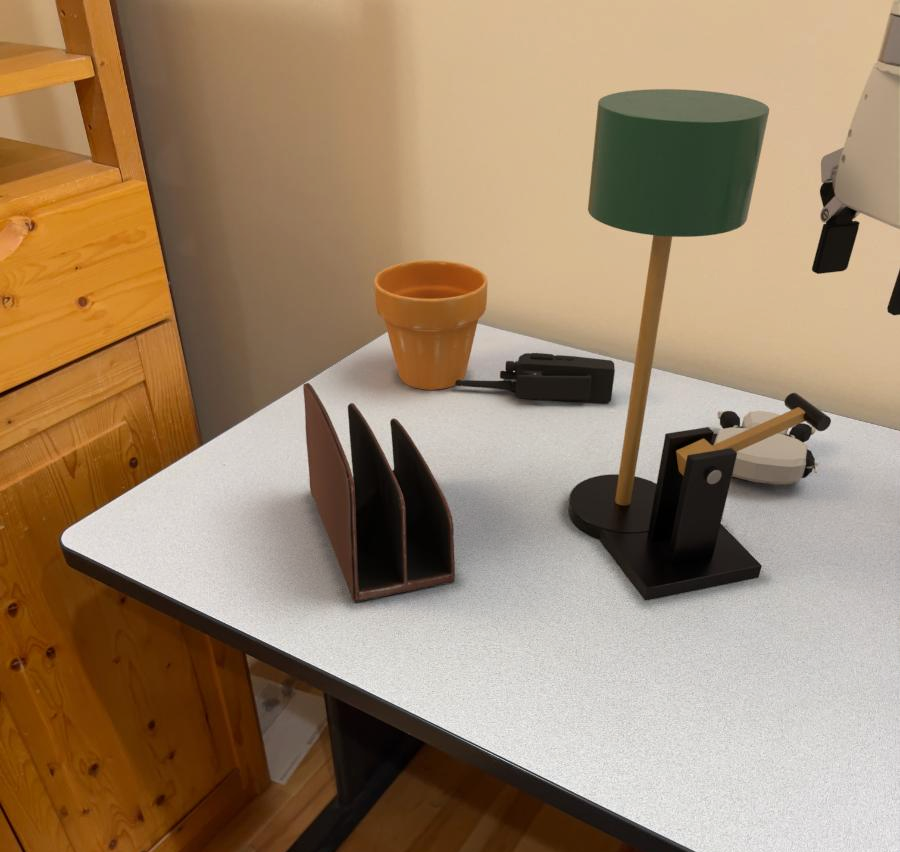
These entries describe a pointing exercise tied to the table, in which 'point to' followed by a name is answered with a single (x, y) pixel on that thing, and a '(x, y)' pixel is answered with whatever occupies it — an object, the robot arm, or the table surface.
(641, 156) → the desk lamp
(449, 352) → the flower pot
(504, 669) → the table surface
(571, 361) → the walkie-talkie
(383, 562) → the letter holder
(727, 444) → the switch lever
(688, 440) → the black pivot bracket
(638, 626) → the table surface
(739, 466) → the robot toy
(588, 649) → the table surface
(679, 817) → the table surface
